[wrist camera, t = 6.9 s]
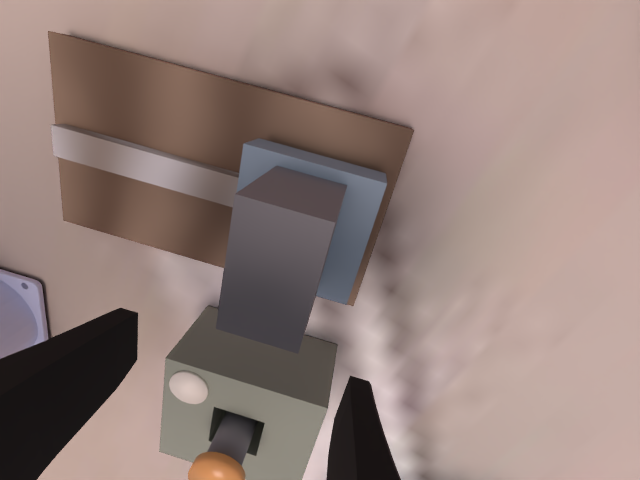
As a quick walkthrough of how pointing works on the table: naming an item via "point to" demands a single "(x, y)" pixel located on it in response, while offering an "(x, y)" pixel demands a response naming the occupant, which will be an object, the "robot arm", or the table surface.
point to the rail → (186, 146)
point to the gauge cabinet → (246, 397)
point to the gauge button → (225, 450)
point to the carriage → (293, 239)
